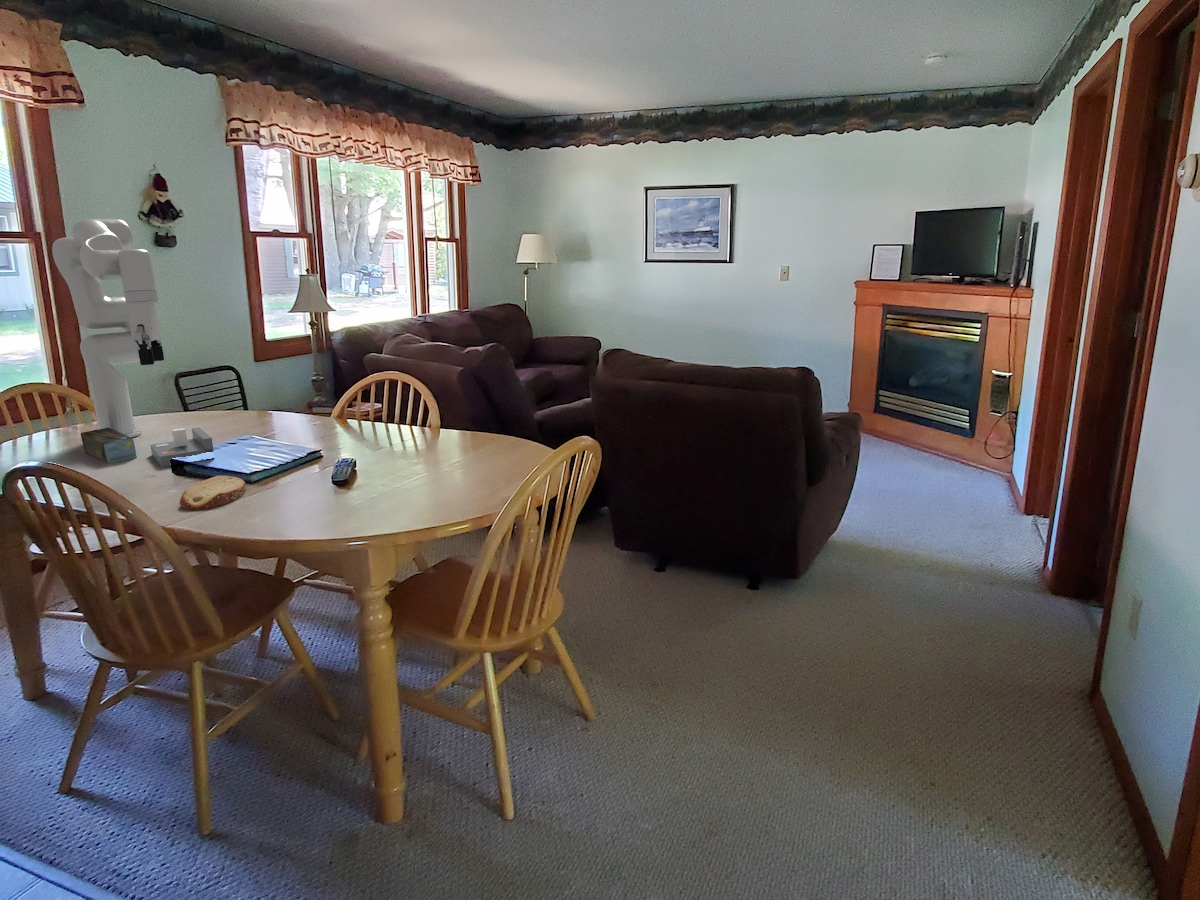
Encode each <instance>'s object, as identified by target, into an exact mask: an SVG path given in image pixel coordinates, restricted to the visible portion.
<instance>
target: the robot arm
mask: <svg viewBox="0 0 1200 900" xmlns="http://www.w3.org/2000/svg"><path fill="white" fill-rule="evenodd" d="M71 234H72V236H66V237H61V238H58V239H55V241H53V243H52V248H51V249H52V251H51V252H52V257H53V260H54V264H55V266H56V267H57V269H58V271H59V273H60V275H61V276H62V278H63V279H64V280H65V282H66V284H67V286H68V288H69V293H70V295H71V298H72V303H73V305H74V306H73V307H74V310H75V315H76V317H77V320H78V323H79V325H80V326H81V327H82V328H83V329H84V330H87V331H102V330H115V329H120V330H122V331H119V332H106V333H96V334H90V335H87V336H86V337H84V338H83V339H82V340H81V341H80V342H79V343H80V344H79V349H80V350H79V351H80V353H81V355H82V359H83V361H84V365H85V366H86V367H85V368H86V370H87V373H88V379H89V385H90V389H91V394H92V400H93V404H94V410H95V417H96V421H97V422H96V423H97V427H98V430H99V429H104V428H108V427H109V428H111V429H114V430H116V431H118V432H120V433H122V434H124V435H126V436H128V437H130V438H132V439H133V438H135V437H138V436H140V435H142V429H140V428H137V427H135V421H134V416H133V414H134V413H133V409H132V404H131V399H130V391H129V387H128V380H127V377H126V376H125V375H124V374H123V373H122V372H121V371H120V370H119V369H118V368H116V365H117V366H118V365H123V364H132V363H138V362H139V363H140V365H141V366H149V365H153V366H154V365H155V362H160V361H164V360H165V355H164V350H163V343H162V340H161V338H162V331H161V325H160V320H159V315H158V311H157V307H156V303H159V296H158V293H157V291H158V290H157V287H156V282H155V281H156V280H155V275H154V269H153V263H152V256H151V254H150V252H149V251H148V250H146V249H138V248H137V249H134V248H133V249H132V246H133V242H134V237H133V235H134V234H133V232H132V229H131V227H130V226H129V224H128V223H126V221H124V220H122V219H117V218H84V219H80V220H78V221H76V222H75V223H74V224H73V226H72V229H71ZM104 280H105V281H106V280H107V281H109V280H121V283H122V290H123V294H124V296H112V297H111V296H107V295H106V294H105V291H104V290H105V289H104V286H103V283H102V281H104Z"/></svg>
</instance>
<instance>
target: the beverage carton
mask: <svg viewBox="0 0 1200 900" xmlns="http://www.w3.org/2000/svg"><path fill="white" fill-rule="evenodd" d="M80 437H81V441H82V446H83V450H84V452H85V453H86V452H87V453H86V454H88V453H89V455H90V454H91V456H92V455H93V457H94V458H96V459H98V460H100V461H102V460H103V461H102V462H104V461H105V462H104V463H106V462H107V463H106V464H112V463H117V462H122V460H123V461H128V460H133V459H136V458H137V452H136V447H135V441H134V438H133V437H132V438H130V437H128V436H126V435H124V434H122V433H120V432H118V431H116V430H114V429H111V428H109V427H108V428H104V429H99V428H98V429H93V430H89V431H81V432H80ZM127 459H128V460H127ZM116 461H117V462H116ZM111 462H112V463H111Z"/></svg>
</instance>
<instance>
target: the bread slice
mask: <svg viewBox="0 0 1200 900" xmlns="http://www.w3.org/2000/svg"><path fill="white" fill-rule="evenodd" d="M246 491H247V485H246V482H245V481H244V479H242V478H240V477H237V476H233V475H216V476H212V477H210V478H207V479H204V480H202V481H200V482H198V483H196V484H194V485H193V486H190V487H188V488H187V489H185V490H184V491H183V493H182V494H181V497H180V499H179V505H180V506H181V507H182V508H183V509H184V510H187V511H188V512H198V511H206V510H211V509H213V508H215V507H219V506H225V505H226V504H229V503H232V502H235V500H238V499H239V498H241V497H242V496H243V495H244V494H245V492H246Z"/></svg>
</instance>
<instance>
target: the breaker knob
mask: <svg viewBox="0 0 1200 900" xmlns="http://www.w3.org/2000/svg"><path fill="white" fill-rule="evenodd" d="M171 432H172V438H173V441H174V445H175V446H176V447H179V446H186V445H188V442H187V439H188V437H187V430H186V428H185V427H183V428H182V427H180V428H173V429H171Z"/></svg>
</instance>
